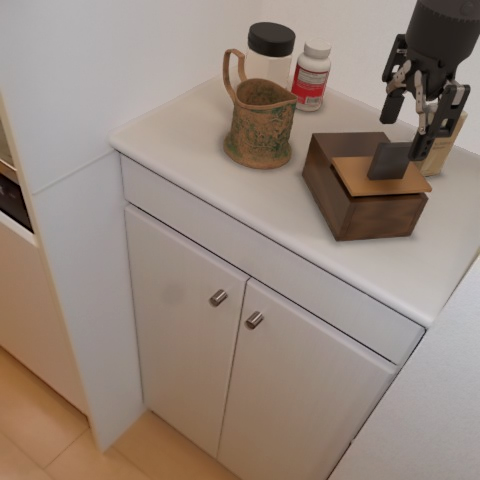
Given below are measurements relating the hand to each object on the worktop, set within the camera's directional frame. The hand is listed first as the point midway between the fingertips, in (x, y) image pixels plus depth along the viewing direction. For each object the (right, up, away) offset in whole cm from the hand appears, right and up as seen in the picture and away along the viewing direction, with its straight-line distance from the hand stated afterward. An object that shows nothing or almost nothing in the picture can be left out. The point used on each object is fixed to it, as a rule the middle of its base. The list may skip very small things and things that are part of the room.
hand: (400, 140), depth 67 cm
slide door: (-1, -3, +5) cm, 6 cm away
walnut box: (-3, -5, +14) cm, 15 cm away
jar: (-17, +18, +31) cm, 40 cm away
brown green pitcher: (-19, +8, +22) cm, 30 cm away
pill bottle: (-8, +18, +32) cm, 38 cm away
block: (-2, -7, +11) cm, 13 cm away
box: (+10, +3, +23) cm, 25 cm away
